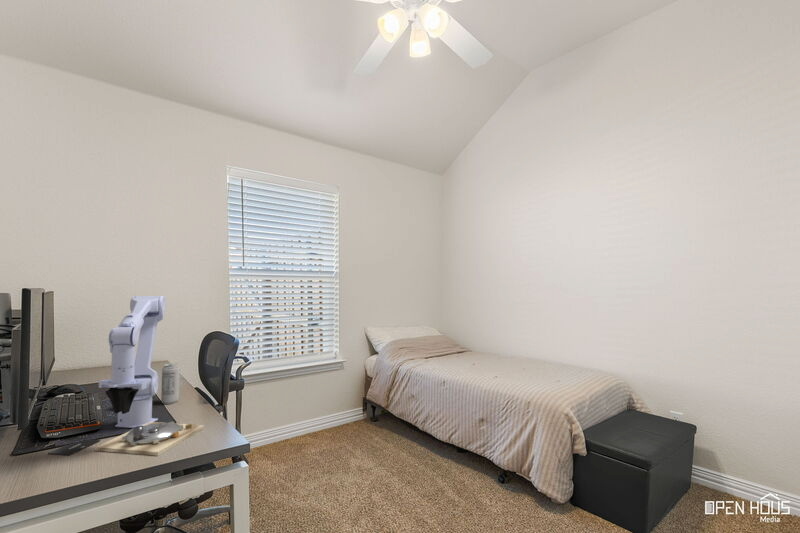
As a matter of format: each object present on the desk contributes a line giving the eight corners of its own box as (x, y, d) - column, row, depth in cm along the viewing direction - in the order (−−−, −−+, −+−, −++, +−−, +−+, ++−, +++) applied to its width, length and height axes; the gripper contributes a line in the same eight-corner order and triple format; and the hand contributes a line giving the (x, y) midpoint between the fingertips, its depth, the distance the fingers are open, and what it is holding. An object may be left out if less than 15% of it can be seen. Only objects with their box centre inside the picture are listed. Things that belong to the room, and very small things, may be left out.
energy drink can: (182, 400, 158) (182, 363, 158) (172, 405, 152) (172, 366, 152) (168, 399, 159) (169, 362, 159) (157, 404, 153) (158, 365, 153)
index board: (95, 450, 112) (95, 442, 112) (149, 424, 132) (149, 418, 132) (158, 455, 110) (158, 447, 110) (203, 428, 129) (203, 421, 129)
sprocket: (108, 443, 114) (108, 428, 114) (150, 423, 130) (150, 409, 130) (157, 447, 112) (157, 431, 112) (194, 426, 128) (194, 412, 128)
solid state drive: (100, 442, 119) (100, 439, 119) (68, 457, 109) (68, 454, 109) (80, 440, 120) (80, 438, 120) (47, 455, 110) (47, 453, 110)
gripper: (89, 369, 115) (88, 415, 114) (133, 371, 112) (132, 418, 112) (110, 363, 122) (109, 407, 121) (152, 365, 119) (151, 410, 119)
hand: (122, 412), depth 117 cm, fingers closed
